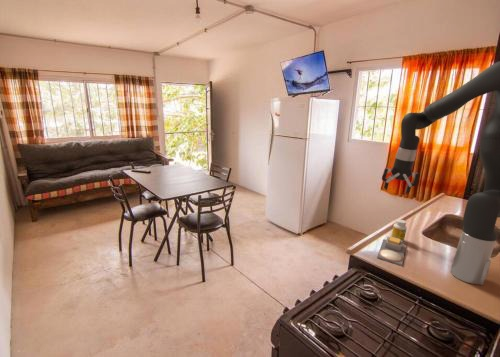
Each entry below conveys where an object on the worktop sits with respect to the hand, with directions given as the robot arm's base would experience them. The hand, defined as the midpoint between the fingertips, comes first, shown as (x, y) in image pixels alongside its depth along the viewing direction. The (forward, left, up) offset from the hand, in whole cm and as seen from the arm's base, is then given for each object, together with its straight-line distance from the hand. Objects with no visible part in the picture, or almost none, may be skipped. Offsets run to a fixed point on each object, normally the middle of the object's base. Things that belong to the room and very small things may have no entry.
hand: (395, 191), depth 121 cm
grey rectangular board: (-4, +18, -22) cm, 29 cm away
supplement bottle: (-5, +4, -22) cm, 23 cm away
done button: (-4, +14, -20) cm, 24 cm away
